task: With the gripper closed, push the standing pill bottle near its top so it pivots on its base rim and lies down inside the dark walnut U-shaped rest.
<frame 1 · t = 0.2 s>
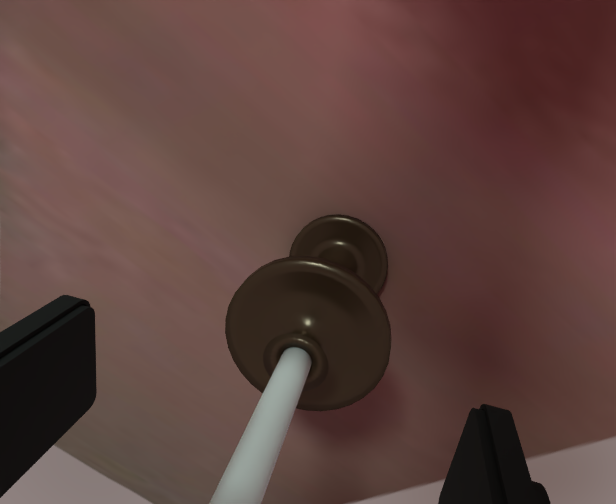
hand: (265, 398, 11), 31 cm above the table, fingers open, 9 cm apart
candlestick: (338, 260, 43), on the table
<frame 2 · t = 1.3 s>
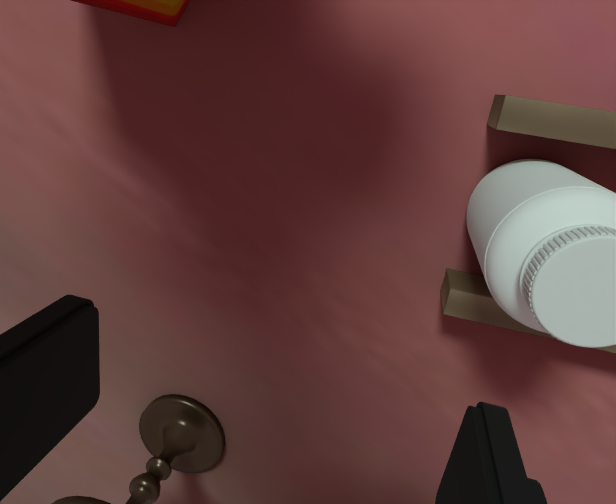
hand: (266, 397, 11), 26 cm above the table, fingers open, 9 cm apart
candlestick: (184, 430, 48), on the table
pill bottle: (521, 210, 34), on the table
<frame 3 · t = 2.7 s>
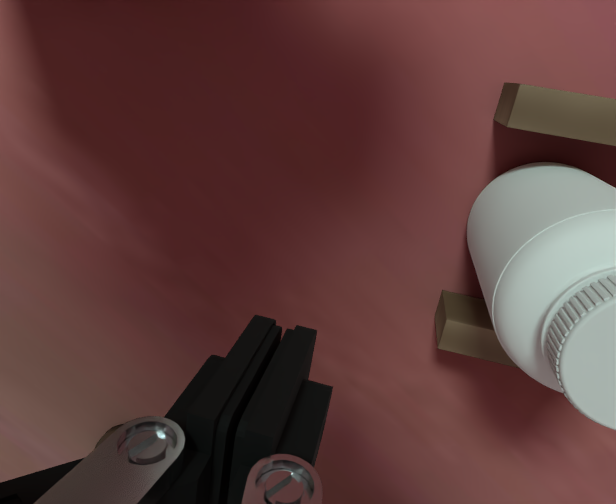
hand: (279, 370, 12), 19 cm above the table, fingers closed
pill bottle: (532, 223, 28), on the table
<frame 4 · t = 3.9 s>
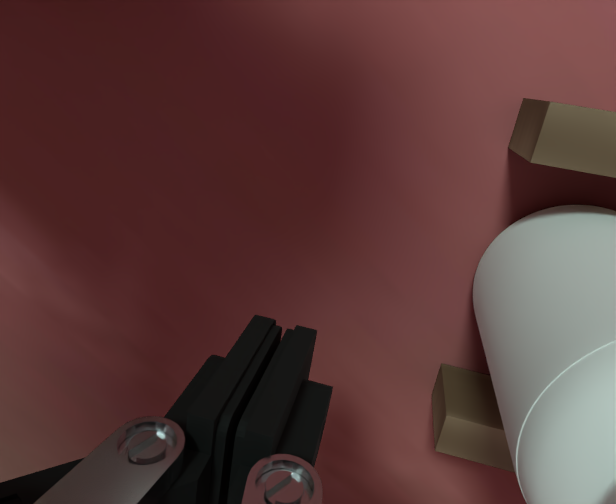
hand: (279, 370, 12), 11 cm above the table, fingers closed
pill bottle: (559, 283, 21), on the table
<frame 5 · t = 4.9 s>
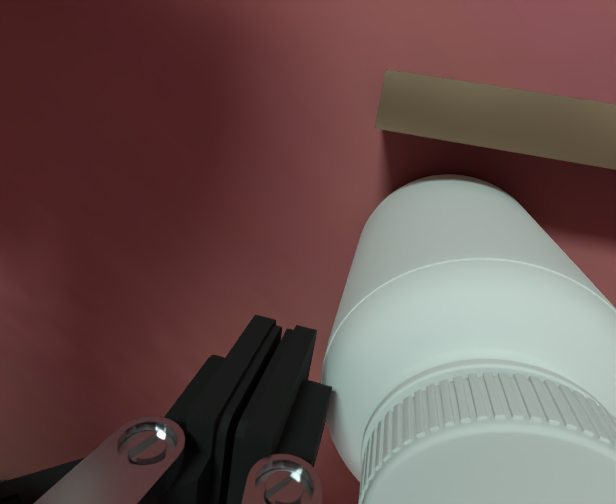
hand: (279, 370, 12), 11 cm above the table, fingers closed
pill bottle: (441, 251, 22), on the table, touching gripper
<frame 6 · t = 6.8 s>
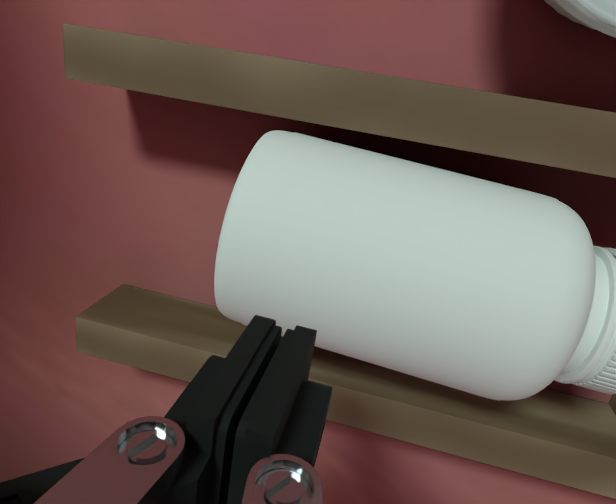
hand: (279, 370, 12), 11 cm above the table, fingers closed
u rest: (368, 243, 22), on the table
pill bottle: (242, 220, 19), point 4 cm above the table
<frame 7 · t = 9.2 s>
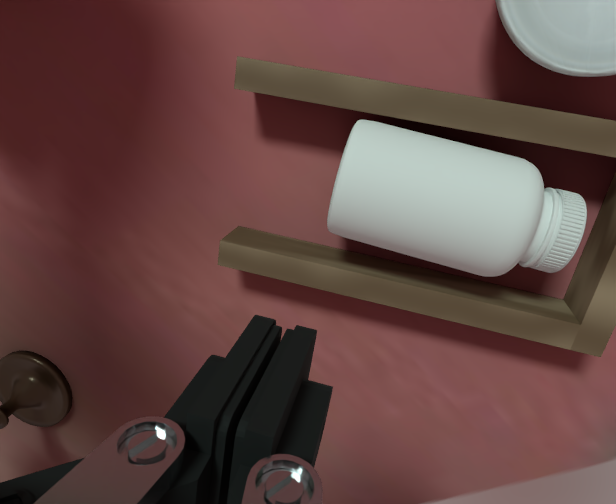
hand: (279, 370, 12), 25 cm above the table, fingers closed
candlestick: (36, 385, 50), on the table
u rest: (408, 194, 35), on the table
pill bottle: (338, 174, 31), point 4 cm above the table
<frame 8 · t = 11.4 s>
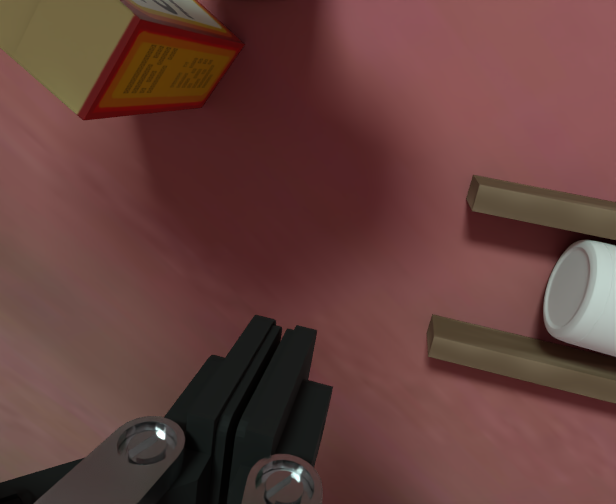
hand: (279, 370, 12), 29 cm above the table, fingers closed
baking soda box: (180, 38, 39), on the table
u rest: (606, 294, 38), on the table
pill bottle: (562, 286, 35), point 4 cm above the table
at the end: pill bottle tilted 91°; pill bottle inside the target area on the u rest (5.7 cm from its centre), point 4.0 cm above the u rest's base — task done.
